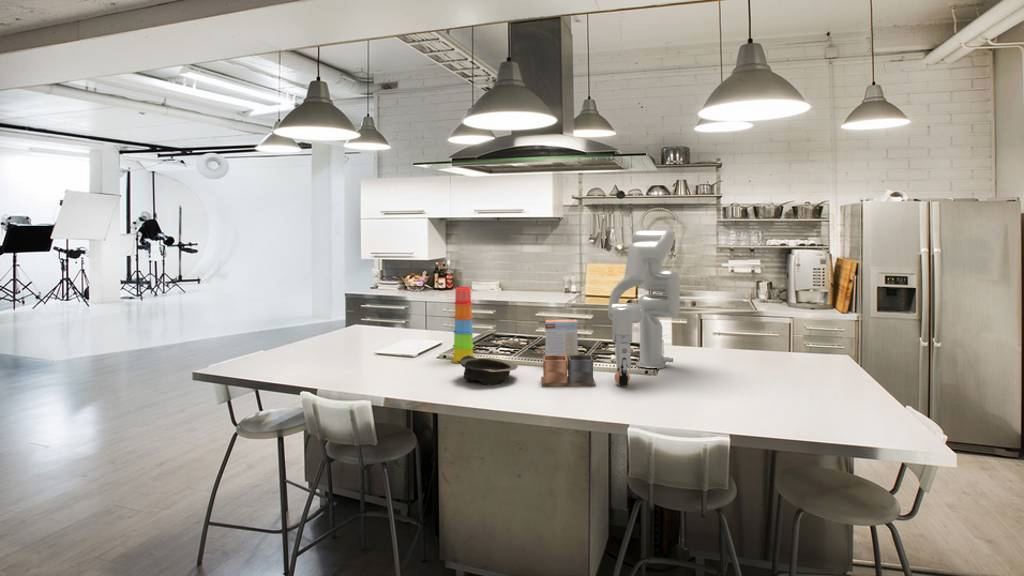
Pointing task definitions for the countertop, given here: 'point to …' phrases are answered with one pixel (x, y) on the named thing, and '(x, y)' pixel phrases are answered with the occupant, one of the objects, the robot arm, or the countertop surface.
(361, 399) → the countertop surface
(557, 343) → the cracker box
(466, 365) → the stone bowl
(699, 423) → the countertop surface
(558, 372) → the double bin organizer
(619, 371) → the ball
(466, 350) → the stacking cups
